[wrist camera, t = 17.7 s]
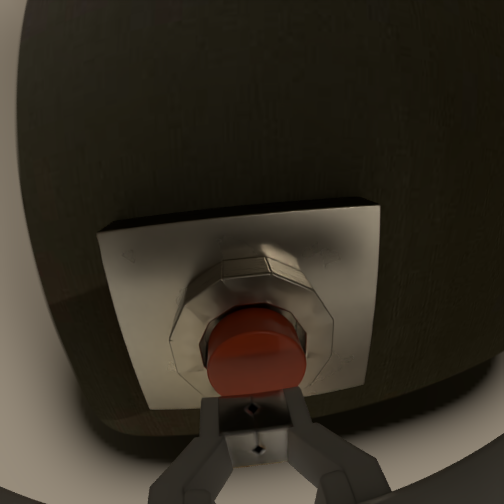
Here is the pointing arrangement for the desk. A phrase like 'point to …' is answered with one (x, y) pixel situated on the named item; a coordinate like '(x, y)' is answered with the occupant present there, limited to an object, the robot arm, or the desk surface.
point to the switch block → (244, 288)
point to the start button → (254, 353)
